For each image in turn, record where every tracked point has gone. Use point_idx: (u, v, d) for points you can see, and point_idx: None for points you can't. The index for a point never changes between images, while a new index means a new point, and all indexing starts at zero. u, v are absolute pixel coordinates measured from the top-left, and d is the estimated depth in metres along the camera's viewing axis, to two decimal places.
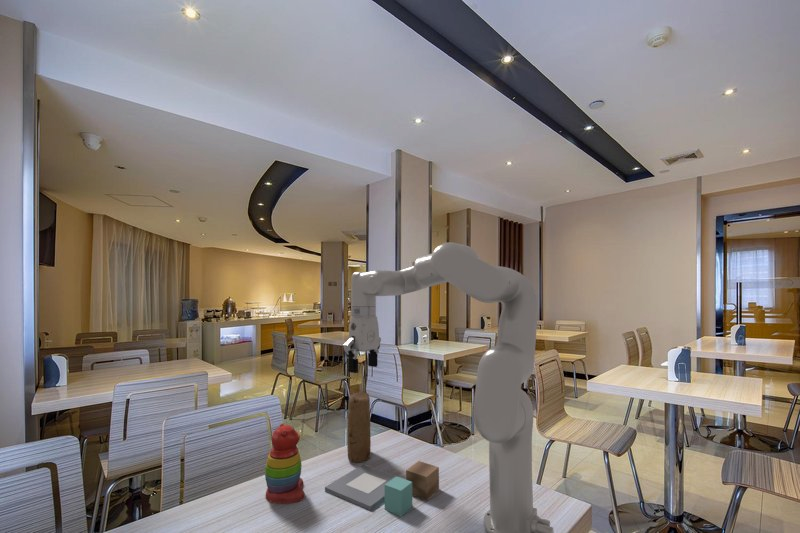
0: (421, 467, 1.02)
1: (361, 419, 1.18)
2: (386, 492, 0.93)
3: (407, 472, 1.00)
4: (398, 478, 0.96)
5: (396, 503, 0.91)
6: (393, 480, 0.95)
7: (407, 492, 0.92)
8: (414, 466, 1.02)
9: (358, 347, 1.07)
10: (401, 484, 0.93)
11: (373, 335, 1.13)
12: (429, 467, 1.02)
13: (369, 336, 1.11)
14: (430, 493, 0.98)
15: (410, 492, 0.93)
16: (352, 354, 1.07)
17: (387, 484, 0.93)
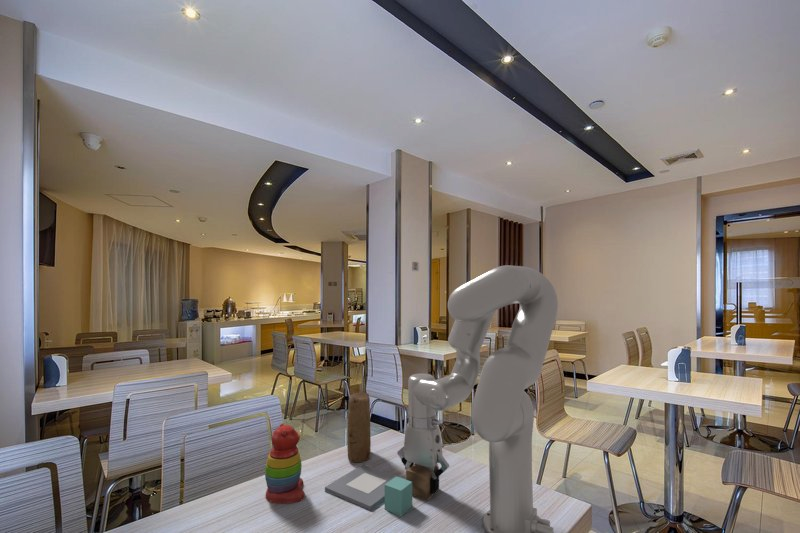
0: (421, 467, 1.02)
1: (361, 419, 1.18)
2: (386, 492, 0.93)
3: (407, 472, 1.00)
4: (398, 478, 0.96)
5: (396, 503, 0.91)
6: (393, 480, 0.95)
7: (407, 492, 0.92)
8: (414, 466, 1.02)
9: None
10: (401, 484, 0.93)
11: None
12: None
13: None
14: (430, 493, 0.98)
15: (410, 492, 0.93)
16: None
17: (387, 484, 0.93)
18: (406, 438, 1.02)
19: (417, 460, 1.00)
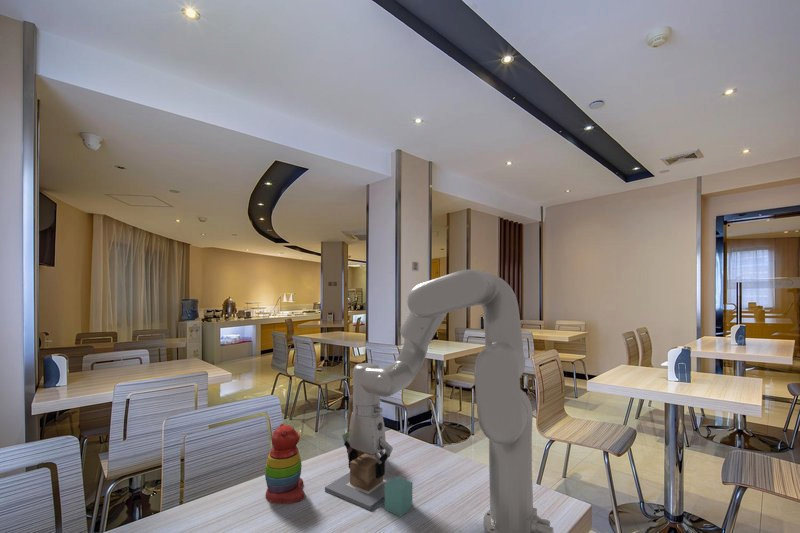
0: (366, 459, 1.04)
1: None
2: (386, 492, 0.93)
3: (351, 464, 1.02)
4: (398, 478, 0.96)
5: (396, 503, 0.91)
6: (393, 480, 0.95)
7: (407, 492, 0.92)
8: (359, 458, 1.05)
9: None
10: (401, 484, 0.93)
11: None
12: (373, 459, 1.04)
13: None
14: (372, 484, 1.00)
15: (410, 492, 0.93)
16: None
17: (387, 484, 0.93)
18: (351, 426, 1.04)
19: (360, 447, 1.02)
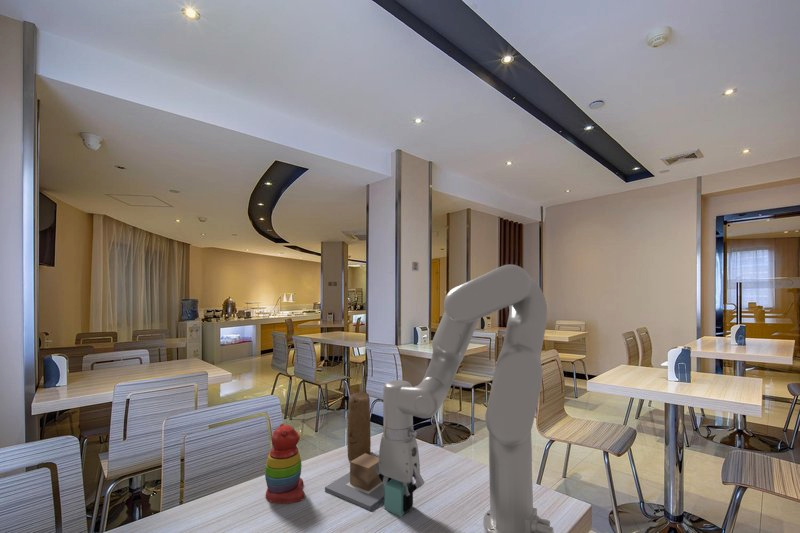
0: (366, 459, 1.04)
1: (361, 419, 1.18)
2: (386, 492, 0.93)
3: (351, 464, 1.02)
4: None
5: (396, 503, 0.91)
6: (393, 480, 0.95)
7: None
8: (359, 458, 1.05)
9: (419, 473, 0.93)
10: (401, 484, 0.93)
11: None
12: (373, 459, 1.04)
13: None
14: (372, 484, 1.00)
15: None
16: None
17: (387, 483, 0.93)
18: (381, 450, 0.94)
19: (392, 474, 0.92)
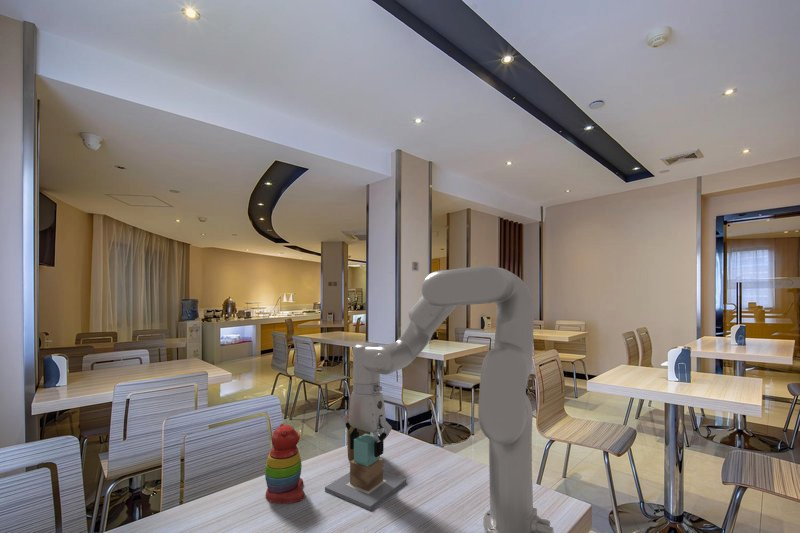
0: None
1: None
2: (355, 446, 1.03)
3: (351, 464, 1.02)
4: (367, 435, 1.06)
5: (363, 455, 1.01)
6: (362, 436, 1.05)
7: (373, 445, 1.02)
8: None
9: None
10: (368, 439, 1.03)
11: None
12: None
13: None
14: (372, 484, 1.00)
15: None
16: None
17: (356, 439, 1.04)
18: (351, 405, 1.05)
19: (360, 425, 1.03)
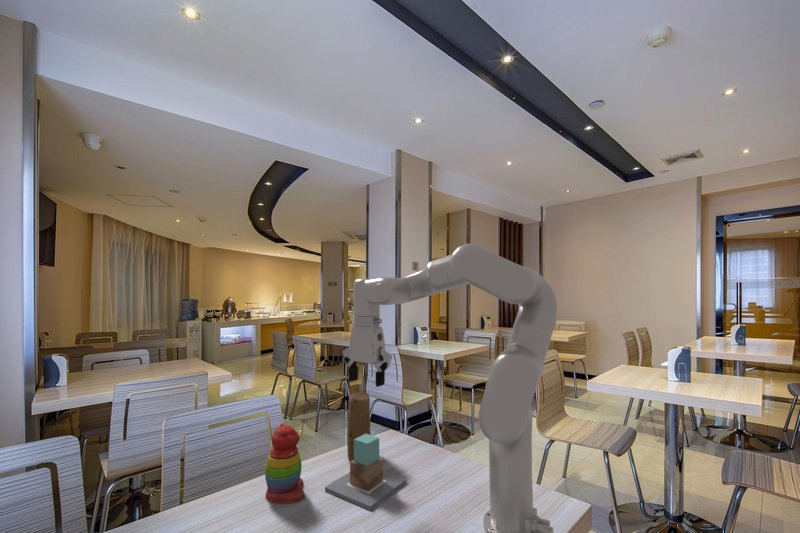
0: None
1: (361, 419, 1.18)
2: (355, 446, 1.03)
3: (351, 464, 1.02)
4: (367, 435, 1.06)
5: (363, 455, 1.01)
6: (362, 436, 1.05)
7: (373, 445, 1.02)
8: None
9: None
10: (368, 439, 1.03)
11: None
12: None
13: None
14: (372, 484, 1.00)
15: (376, 446, 1.03)
16: None
17: (356, 439, 1.04)
18: (351, 339, 1.06)
19: (360, 358, 1.04)
